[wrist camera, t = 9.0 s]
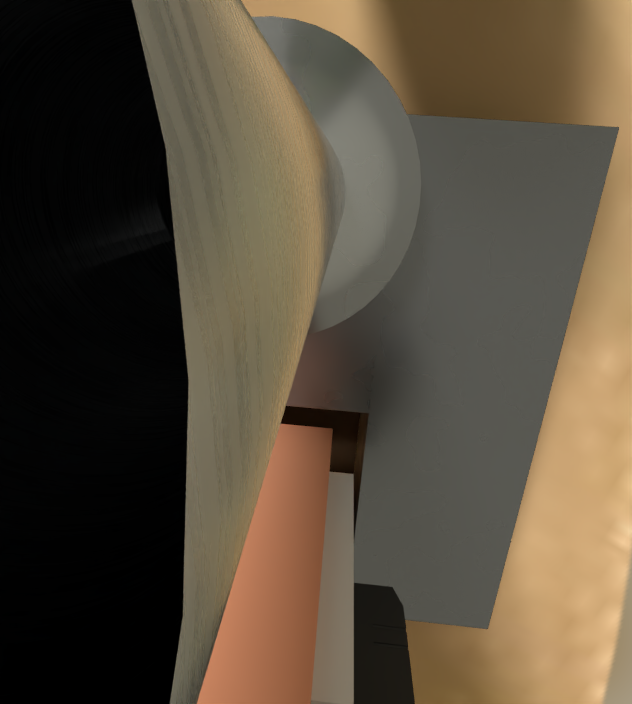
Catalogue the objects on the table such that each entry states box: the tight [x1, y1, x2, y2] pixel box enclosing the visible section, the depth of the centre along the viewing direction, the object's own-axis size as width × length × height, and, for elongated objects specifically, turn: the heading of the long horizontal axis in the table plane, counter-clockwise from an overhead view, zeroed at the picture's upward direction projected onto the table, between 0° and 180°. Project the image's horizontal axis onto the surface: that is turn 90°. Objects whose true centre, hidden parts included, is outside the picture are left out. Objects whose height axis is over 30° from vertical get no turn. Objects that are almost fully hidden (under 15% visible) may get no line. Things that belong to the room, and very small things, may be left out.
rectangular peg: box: [197, 424, 333, 704], centre depth 10 cm, size 4×4×12 cm
